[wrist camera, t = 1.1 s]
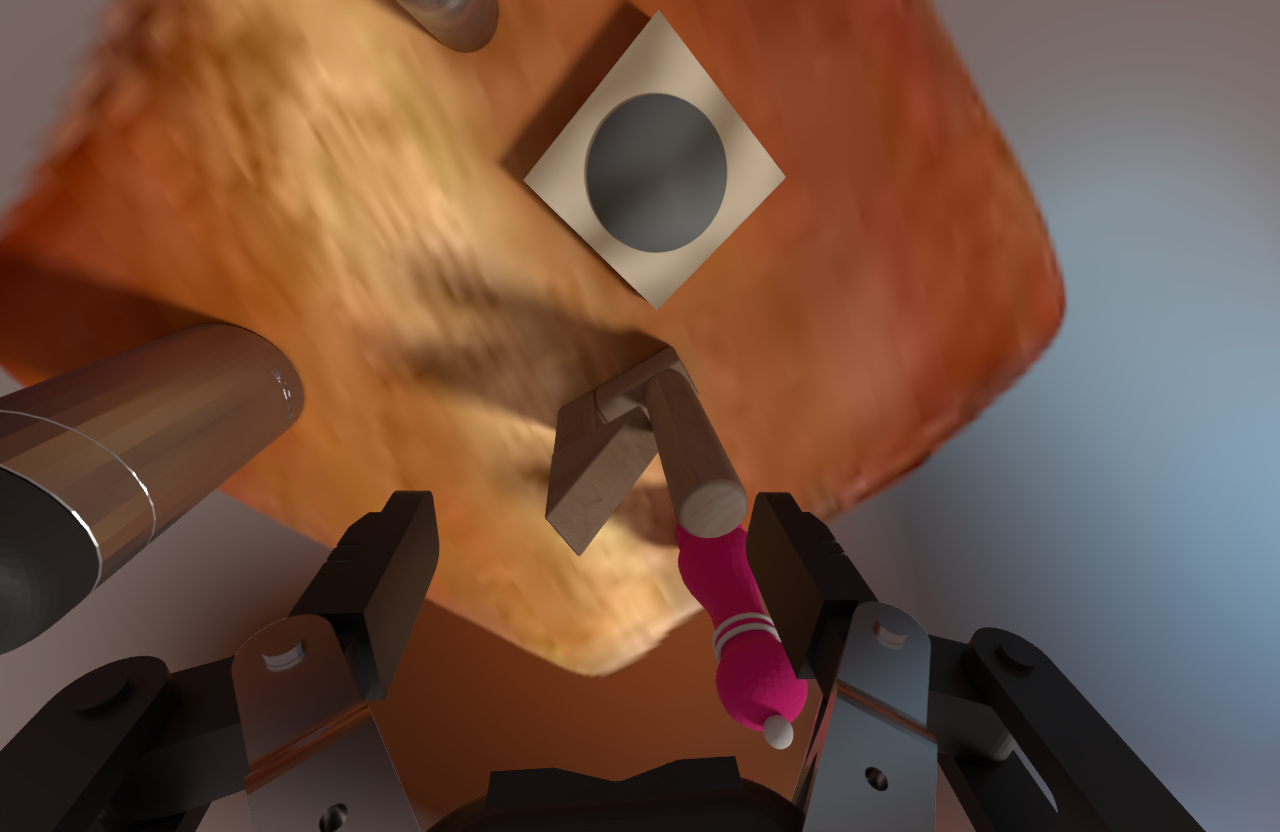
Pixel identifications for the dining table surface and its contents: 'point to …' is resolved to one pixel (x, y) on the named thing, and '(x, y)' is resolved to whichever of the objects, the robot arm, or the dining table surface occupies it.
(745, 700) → the pepper mill
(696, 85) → the rest block
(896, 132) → the dining table surface
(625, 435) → the wooden block
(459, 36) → the axle
